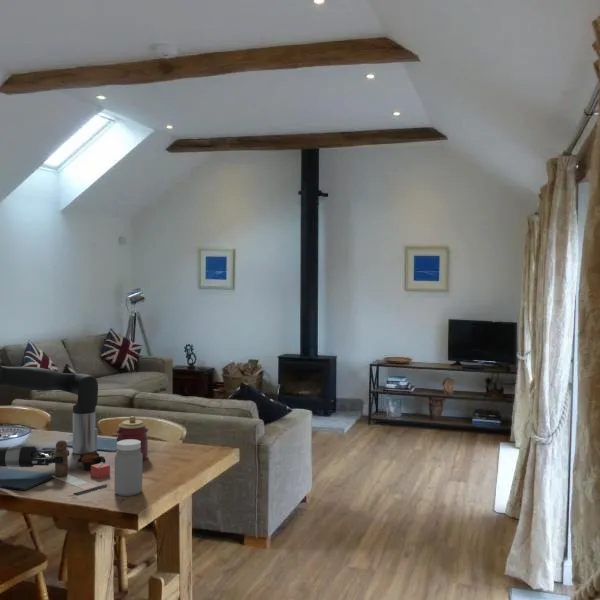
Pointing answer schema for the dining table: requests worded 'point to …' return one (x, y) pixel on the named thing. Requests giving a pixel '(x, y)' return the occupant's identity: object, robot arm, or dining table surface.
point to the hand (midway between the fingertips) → (66, 456)
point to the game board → (81, 482)
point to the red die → (100, 470)
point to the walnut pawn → (62, 451)
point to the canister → (134, 433)
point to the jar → (128, 467)
